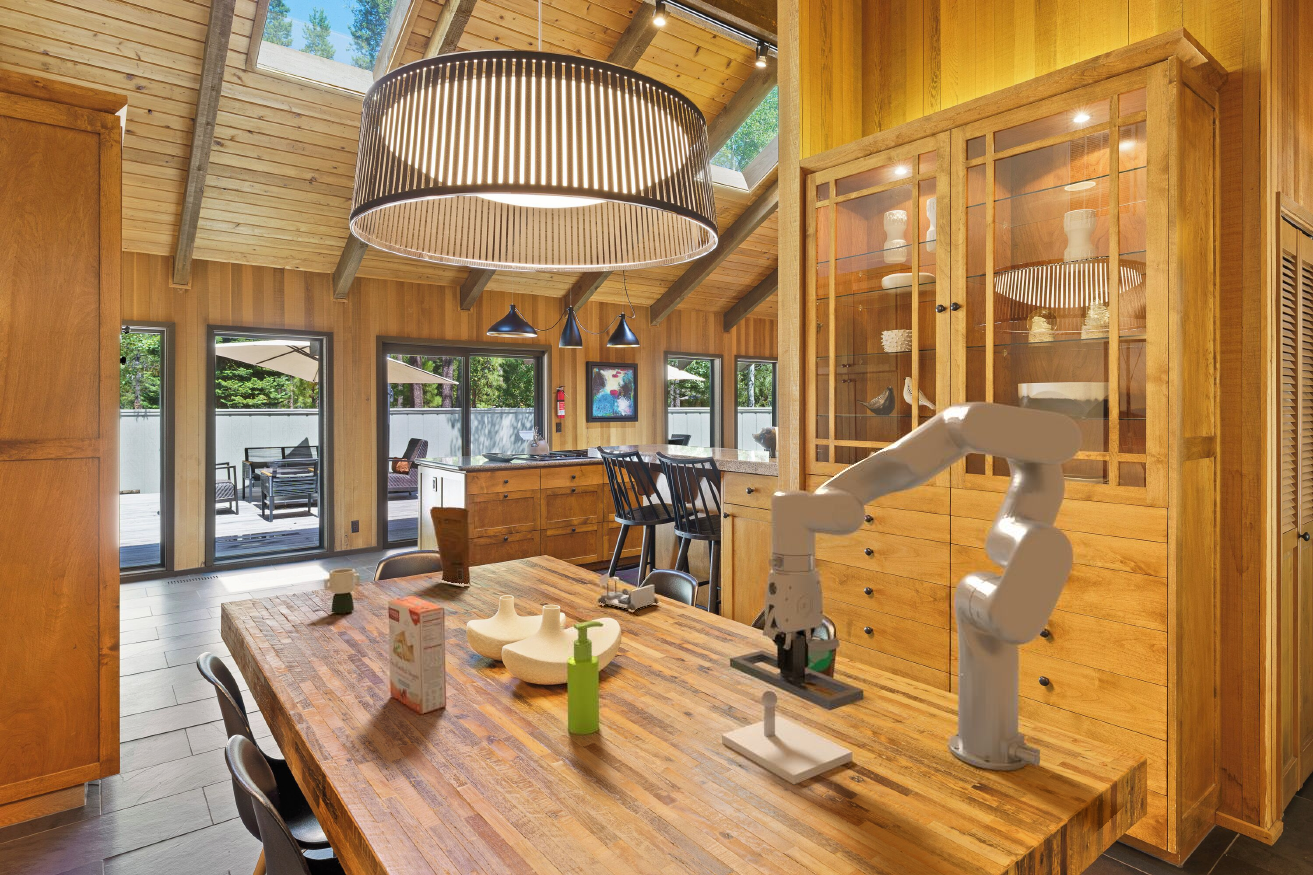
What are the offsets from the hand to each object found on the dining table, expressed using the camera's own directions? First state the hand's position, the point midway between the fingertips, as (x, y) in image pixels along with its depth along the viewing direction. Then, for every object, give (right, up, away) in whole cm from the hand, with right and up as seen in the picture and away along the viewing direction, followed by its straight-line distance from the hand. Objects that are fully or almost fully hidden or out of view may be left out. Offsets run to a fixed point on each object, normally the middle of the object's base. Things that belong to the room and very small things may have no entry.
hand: (792, 666), depth 123 cm
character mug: (-120, -14, +94) cm, 153 cm away
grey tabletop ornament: (-34, -14, +101) cm, 108 cm away
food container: (+10, -15, +35) cm, 40 cm away
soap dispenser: (-37, -16, +12) cm, 42 cm away
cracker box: (-74, -16, +25) cm, 79 cm away
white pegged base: (-1, -16, +2) cm, 16 cm away
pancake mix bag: (-96, -13, +131) cm, 163 cm away
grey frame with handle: (0, -3, 0) cm, 3 cm away
